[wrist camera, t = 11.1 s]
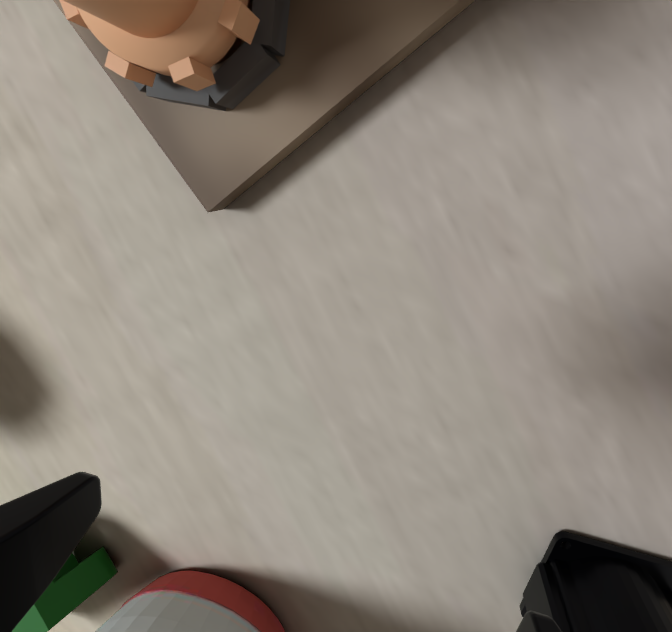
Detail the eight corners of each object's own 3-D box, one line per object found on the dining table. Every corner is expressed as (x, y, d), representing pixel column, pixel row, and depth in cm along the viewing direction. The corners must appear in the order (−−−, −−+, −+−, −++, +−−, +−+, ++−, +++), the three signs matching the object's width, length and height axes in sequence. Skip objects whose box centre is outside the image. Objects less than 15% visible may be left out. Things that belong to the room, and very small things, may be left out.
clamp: (109, 483, 35) (24, 527, 26) (147, 545, 34) (73, 613, 25) (-11, 567, 34) (-141, 642, 25) (24, 631, 34) (-95, 732, 24)
